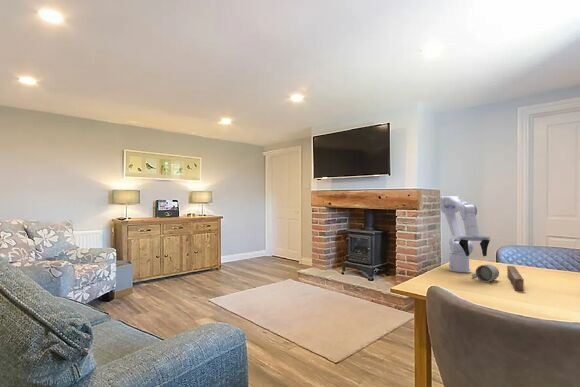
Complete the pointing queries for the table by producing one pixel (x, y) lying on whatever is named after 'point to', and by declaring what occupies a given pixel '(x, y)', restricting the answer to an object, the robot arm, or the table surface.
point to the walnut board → (515, 278)
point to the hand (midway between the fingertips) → (476, 255)
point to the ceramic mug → (486, 273)
